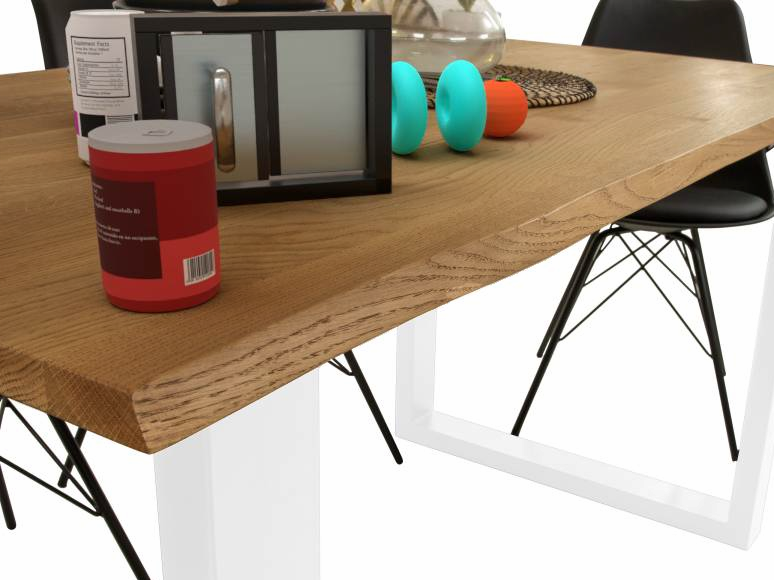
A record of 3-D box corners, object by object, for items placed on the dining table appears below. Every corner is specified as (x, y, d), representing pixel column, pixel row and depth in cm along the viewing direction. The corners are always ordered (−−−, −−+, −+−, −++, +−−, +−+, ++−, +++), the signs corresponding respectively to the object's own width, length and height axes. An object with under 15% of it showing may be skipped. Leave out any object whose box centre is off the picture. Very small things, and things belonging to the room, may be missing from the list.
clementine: (487, 128, 127) (489, 70, 125) (538, 133, 124) (541, 75, 122) (460, 138, 120) (461, 78, 118) (513, 144, 118) (516, 82, 115)
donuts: (375, 145, 115) (375, 56, 112) (457, 141, 119) (459, 54, 115) (401, 163, 107) (402, 67, 103) (489, 158, 110) (492, 65, 106)
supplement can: (66, 159, 105) (50, 10, 100) (140, 149, 110) (128, 7, 105) (100, 173, 100) (85, 16, 94) (176, 162, 105) (165, 13, 100)
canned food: (224, 272, 72) (215, 118, 68) (219, 311, 65) (209, 142, 61) (112, 276, 71) (97, 119, 67) (95, 317, 63) (76, 143, 60)
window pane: (177, 198, 84) (165, 40, 79) (169, 184, 88) (158, 34, 84) (279, 190, 87) (273, 38, 82) (267, 177, 91) (261, 32, 87)
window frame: (150, 211, 87) (133, 17, 81) (145, 200, 90) (129, 13, 85) (391, 193, 95) (392, 14, 89) (378, 183, 98) (378, 11, 93)
